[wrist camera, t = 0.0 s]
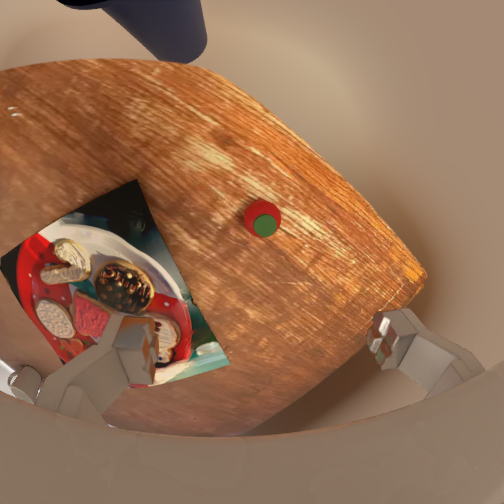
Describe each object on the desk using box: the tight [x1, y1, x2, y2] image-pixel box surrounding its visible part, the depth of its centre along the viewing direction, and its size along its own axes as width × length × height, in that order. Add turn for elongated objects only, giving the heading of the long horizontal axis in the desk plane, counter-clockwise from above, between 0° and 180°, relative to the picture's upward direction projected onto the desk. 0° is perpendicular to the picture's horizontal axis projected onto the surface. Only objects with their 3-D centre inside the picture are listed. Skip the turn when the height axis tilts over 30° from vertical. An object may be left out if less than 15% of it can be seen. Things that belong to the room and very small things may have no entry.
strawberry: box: [244, 199, 281, 237], centre depth 32 cm, size 4×4×5 cm
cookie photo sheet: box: [0, 179, 230, 388], centre depth 38 cm, size 35×35×2 cm
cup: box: [8, 366, 41, 405], centre depth 42 cm, size 8×10×8 cm
